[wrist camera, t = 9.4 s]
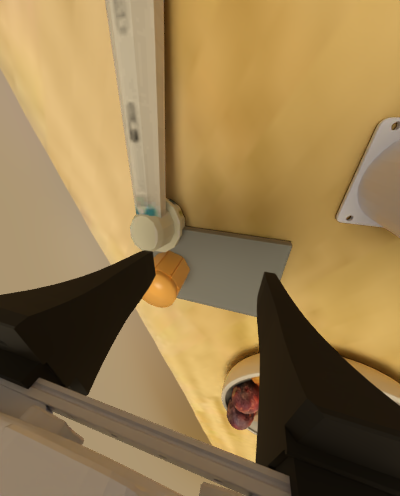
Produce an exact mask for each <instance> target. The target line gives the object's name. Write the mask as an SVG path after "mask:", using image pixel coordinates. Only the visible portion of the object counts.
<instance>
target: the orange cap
mask: <svg viewBox="0 0 400 496" xmlns="http://www.w3.org/2000/svg"><path fill="white" fill-rule="evenodd" d="M154 265H155V273H156V276H155V278H154V280H153V282H152V284H151V285H150V287H149V289H148V290H147V292H146V293H145V294H144V296H143V297H142V299H143V300H145V301H146V302H147V303H149V304H151V305H153V306H156V307H168V306H170V305H172V304H173V302H174V300H175V299H176V297H177V296H178V294H179V292H180V290H181V288H182V286H183V284H184V282H185V280H186V278H187V276H188V273H189V271H190V268H189V266H188V265H187V263H186V261H185V259H184V258H182V256H180V255H178V254H176V253H174V252H172V251H167V252H162V253H159V254H157V255H156V256H155V257H154Z"/></svg>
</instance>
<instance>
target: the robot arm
mask: <svg viewBox="0 0 400 496" xmlns="http://www.w3.org/2000/svg"><path fill="white" fill-rule="evenodd" d="M395 122H397V124H398V125H397V127H396V128H395V129H394V130H392V129H391V127H392V125H393V124H394V123H395ZM348 216H351V218H350V219H346V218H347V217H348ZM336 220H337V221H339V222H341V223H350V224H358V225H367V226H375V227H384V228H386V229H387V230H389V231H390V232H392V233H393V234H395V235H396V236H398V237H399V238H400V117H391V118H385V119H383V120H382V121H381V122H380V123H379V124H378V125H377V127H376V129H375V131H374V134H373V136H372V138H371V140H370V142H369V145H368V147H367V149H366V151H365V153H364V156H363V158H362V160H361V162H360V164H359V167H358V169H357V171H356V173H355V175H354V178H353V180H352V182H351V184H350V186H349V189H348V191H347V193H346V195H345V197H344V199H343V202H342V204H341V206H340V208H339V210H338V213H337V215H336ZM155 276H156V273H155V265H154V257H153V251H147V250H144V251H141V252H139V253H136V254H134V255H132V256H130V257H128V258H126V259H124V260H121V261H119V262H117V263H115V264H113V265H110V266H108V267H106V268H104V269H101V270H99V271H96V272H94V273H91V274H88V275H85V276H83V277H79V278H76V279H73V280H69V281H66V282H62V283H59V284H55V285H50V286H46V287H42V288H37V289H32V290H28V291H21V292H15V293H10V294H3V295H0V496H183V495H181V494H179V493H177V492H175V491H173V490H171V489H169V488H167V487H165V486H163V485H161V484H160V483H158V482H156V481H154V480H152V479H150V478H148V477H146V476H144V475H142V474H140V473H138V472H136V471H134V470H132V469H130V468H128V467H126V466H124V465H122V464H120V463H118V462H116V461H114V460H112V459H110V458H108V457H106V456H104V455H102V454H99V453H97V452H95V451H93V450H91V449H89V448H86V447H84V446H82V444H83V442H84V439H83V438H82V437H81V436H80V435H78V434H77V433H75V432H74V431H73V430H72V429H71V428H70V427H69V426H68V425H67V423H66V422H65V421H63V420H62V419H60V418H58V417H56V416H55V415H53V412H55V413H58V414H60V415H62V416H64V417H67V418H69V419H71V420H74V421H76V422H78V423H80V424H83V425H85V426H87V427H90V428H92V429H94V430H96V431H99V432H101V433H103V434H106V435H108V436H110V437H113V438H115V439H117V440H119V441H122V442H124V443H126V444H129V445H131V446H133V447H136V448H138V449H140V450H142V451H145V452H147V453H149V454H152V455H154V456H156V457H158V458H161V459H163V460H165V461H168V462H170V463H172V464H174V465H177V466H179V467H181V468H184V469H186V470H188V471H191V472H193V473H195V474H197V475H200V476H202V477H204V478H207V479H209V480H211V481H214V482H216V483H218V484H220V485H223V486H225V487H227V488H230V489H232V490H230V489H226V488H223V487H219V486H216V485H212V484H209V483H206V482H203V483H202V484H201V488H200V494H199V496H244V495H246V496H400V406H399V405H398V404H397V403H396V402H394V401H393V400H392V399H391V398H389V397H388V396H387V395H386V394H385V393H383V392H382V391H381V390H380V389H378V388H377V387H376V386H375V385H373V384H372V383H371V382H370V381H369V380H368V379H366V378H365V377H364V376H363V375H362V374H361V373H360V372H358V371H357V370H356V369H355V368H354V367H353V366H352V365H351V364H349V363H348V362H347V361H346V360H345V359H344V358H343V357H342V356H341V355H340V354H339V353H338V352H337V351H336V350H335V349H334V348H333V347H332V346H331V345H330V344H329V343H328V342H327V341H326V340H325V339H324V338H323V337H322V336H321V335H320V334H319V333H318V332H317V331H316V329H315V328H314V327H313V326H312V325H311V324H310V323H309V322H308V320H307V319H306V318H305V317H304V315H303V314H302V313H301V311H300V310H299V309H298V307H297V306H296V305H295V303H294V302H293V300H292V299H291V297H290V296H289V295H288V293H287V291H286V290H285V288H284V287H283V285H282V284H281V282H280V280H279V279H278V277H277V275H276V274H275V273H270V272H264V274H263V278H262V281H261V285H260V289H259V292H258V296H257V324H258V337H259V350H260V375H259V406H258V429H257V448H256V463H254V462H252V461H249V460H247V459H244V458H242V457H239V456H237V455H234V454H232V453H229V452H227V451H224V450H222V449H219V448H216V447H214V446H211V445H209V444H206V443H204V442H201V441H199V440H196V439H193V438H191V437H188V436H186V435H183V434H181V433H178V432H176V431H173V430H171V429H168V428H166V427H163V426H161V425H158V424H156V423H153V422H151V421H148V420H146V419H143V418H140V417H138V416H135V415H133V414H130V413H128V412H125V411H123V410H120V409H118V408H115V407H113V406H110V405H107V404H105V403H102V402H100V401H97V400H95V399H92V398H90V397H87V395H88V394H89V391H90V389H91V387H92V385H93V383H94V380H95V378H96V376H97V374H98V372H99V370H100V368H101V365H102V363H103V362H104V360H105V358H106V356H107V354H108V352H109V350H110V348H111V346H112V344H113V342H114V340H115V339H116V337H117V335H118V333H119V332H120V330H121V328H122V327H123V325H124V323H125V321H126V320H127V318H128V317H129V315H130V314H131V312H132V311H133V310H134V308H135V307H136V306H137V304H138V303H139V301H140V300H141V299H142V297H143V296H144V294H145V293H146V292H147V290H148V289H149V287H150V285H151V284H152V282H153V280H154V278H155ZM52 411H53V412H52ZM233 490H234V491H233ZM235 491H236V492H235ZM238 492H239V493H238ZM240 493H241V494H240ZM242 494H243V495H242Z"/></svg>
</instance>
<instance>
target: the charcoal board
mask: <svg viewBox="0 0 400 496" xmlns="http://www.w3.org/2000/svg"><path fill="white" fill-rule="evenodd" d="M291 248H292V244H291V242H290V241H283V240H276V239H269V238H262V237H256V236H249V235H242V234H235V233H228V232H222V231H215V230H208V229H201V228H194V227H187V226H185V227H184V228H183V229H182V236H181V238H180V240H179V241H178V243H177V245H176V246H175V247H174V248H172V249H170V250H168V251H172V252H174V253H176V254H178V255H180V256H182V258H184V259H185V261H186V263H187V265H188V266H189V268H190V271H189V273H188V276H187V278H186V280H185V282H184V284H183V286H182V288H181V290H180V292H179V294H178V296H177V297H176V298H179V299H184V300H188V301H192V302H196V303H200V304H204V305H209V306H213V307H217V308H221V309H225V310H229V311H234V312H238V313H242V314H246V315H250V316H254V317H257V296H258V292H259V289H260V285H261V281H262V278H263V274H264V272H270V273H275V274H276V275H277V277H278V279H279V280H280V279H281V277H282V274H283V271H284V268H285V265H286V262H287V260H288V257H289V254H290V251H291ZM159 253H162V252H159V251H154V252H153V257H155V256H156V255H157V254H159Z"/></svg>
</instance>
